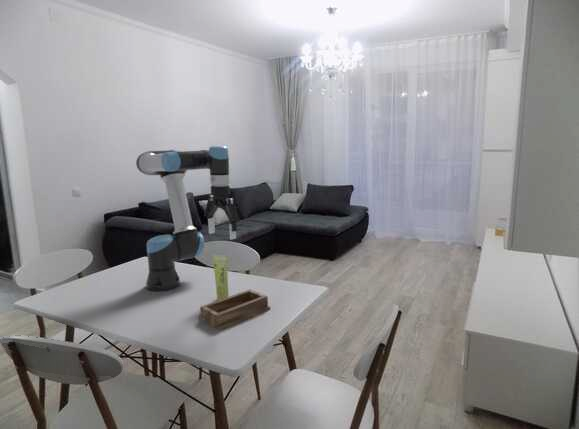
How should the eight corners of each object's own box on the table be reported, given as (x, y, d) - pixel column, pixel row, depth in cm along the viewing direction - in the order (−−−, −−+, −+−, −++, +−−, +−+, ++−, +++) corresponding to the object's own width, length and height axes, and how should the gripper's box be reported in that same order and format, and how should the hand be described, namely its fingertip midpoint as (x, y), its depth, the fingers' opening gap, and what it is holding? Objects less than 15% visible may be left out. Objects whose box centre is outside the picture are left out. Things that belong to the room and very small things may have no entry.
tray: (199, 318, 150) (198, 305, 149) (248, 299, 167) (247, 288, 166) (220, 330, 141) (219, 317, 140) (270, 309, 157) (269, 297, 156)
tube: (216, 302, 165) (213, 257, 161) (214, 297, 170) (212, 254, 166) (229, 300, 167) (227, 256, 163) (228, 295, 171) (225, 252, 168)
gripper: (193, 183, 163) (196, 232, 168) (233, 189, 147) (235, 243, 152) (208, 181, 169) (210, 229, 173) (248, 186, 153) (249, 239, 157)
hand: (222, 236), depth 162 cm, fingers open, 13 cm apart
